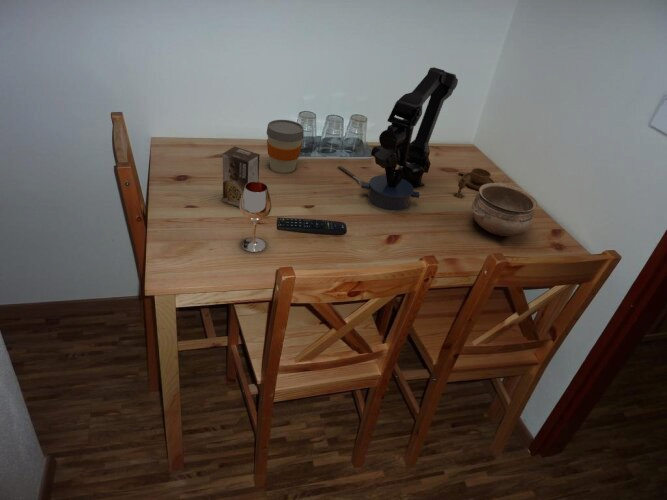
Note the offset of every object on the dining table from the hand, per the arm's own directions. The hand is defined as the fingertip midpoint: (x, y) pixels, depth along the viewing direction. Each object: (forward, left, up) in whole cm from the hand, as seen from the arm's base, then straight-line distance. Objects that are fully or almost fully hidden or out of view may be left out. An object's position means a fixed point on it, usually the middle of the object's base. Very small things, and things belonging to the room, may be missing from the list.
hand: (391, 185), depth 165 cm
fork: (0, -18, -6) cm, 19 cm away
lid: (0, 0, -1) cm, 1 cm away
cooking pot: (-20, +29, -6) cm, 36 cm away
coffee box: (+44, -20, -6) cm, 49 cm away
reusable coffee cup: (+19, -35, -6) cm, 40 cm away
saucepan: (0, 0, -6) cm, 6 cm away
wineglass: (+52, +2, -6) cm, 53 cm away
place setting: (-37, +4, -6) cm, 38 cm away
